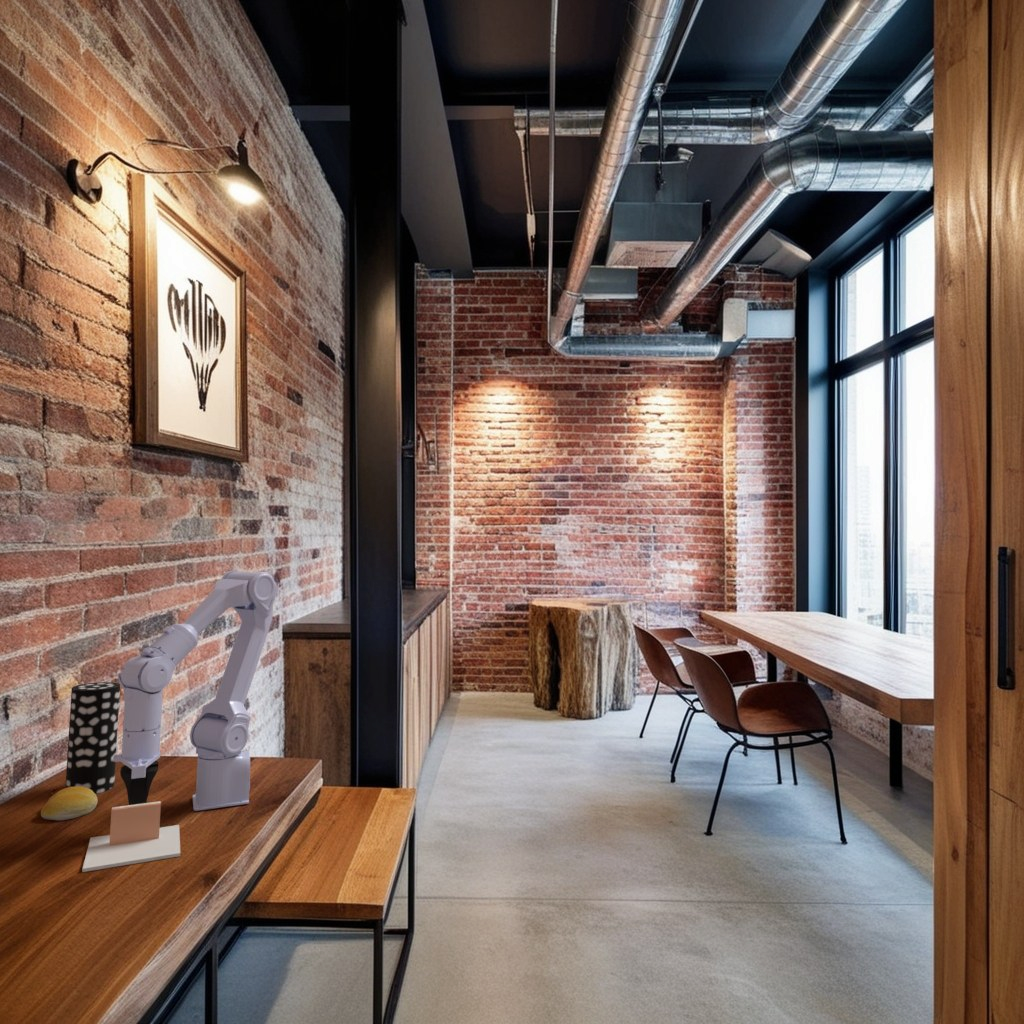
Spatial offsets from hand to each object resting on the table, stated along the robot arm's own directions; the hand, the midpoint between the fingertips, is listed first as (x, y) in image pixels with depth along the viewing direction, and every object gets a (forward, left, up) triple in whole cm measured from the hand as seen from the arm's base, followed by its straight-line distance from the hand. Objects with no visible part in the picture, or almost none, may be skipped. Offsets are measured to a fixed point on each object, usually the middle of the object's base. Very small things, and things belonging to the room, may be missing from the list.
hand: (137, 809), depth 115 cm
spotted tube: (+9, -27, -4) cm, 28 cm away
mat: (0, +7, -4) cm, 8 cm away
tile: (0, +5, -3) cm, 6 cm away
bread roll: (+11, -15, -4) cm, 19 cm away
